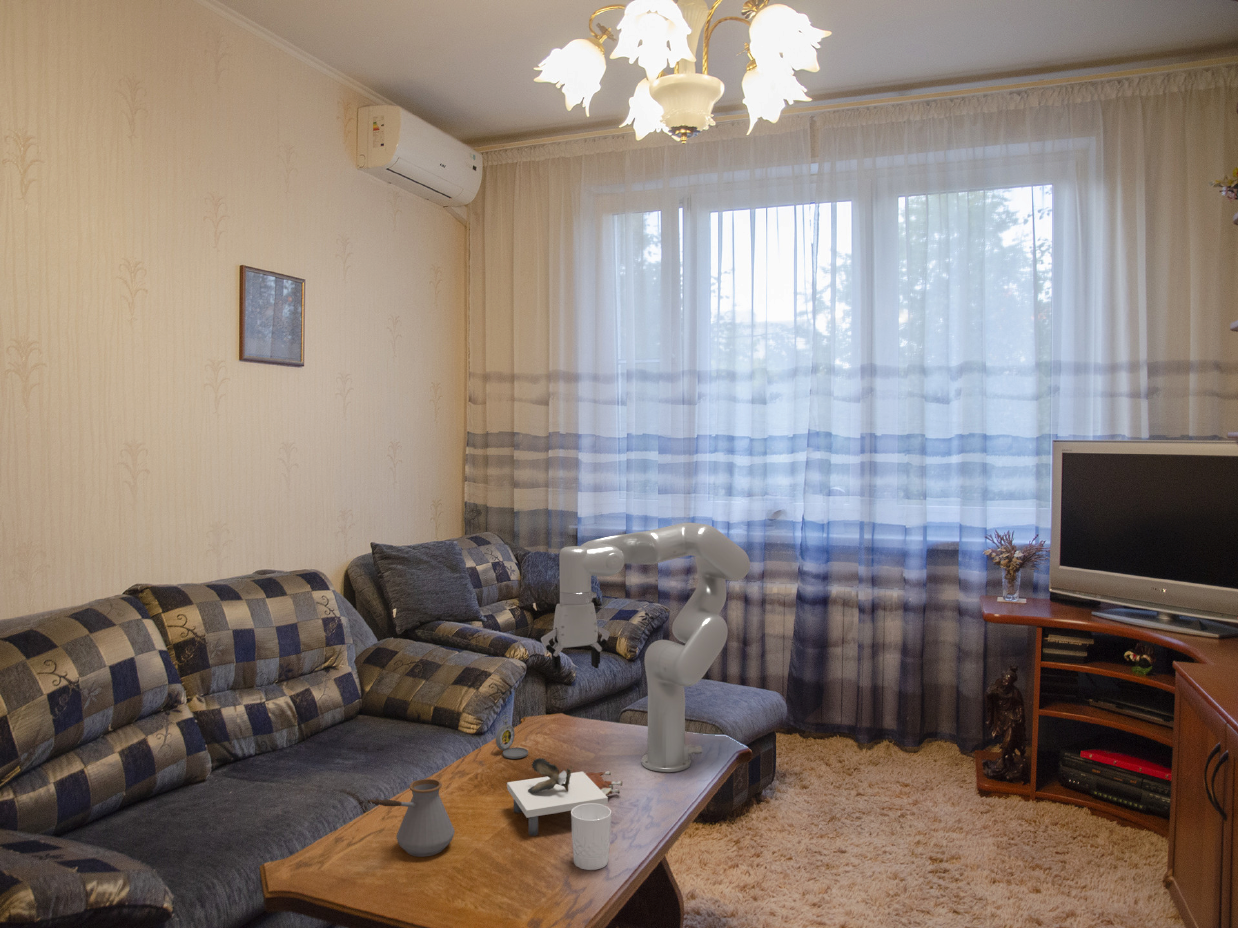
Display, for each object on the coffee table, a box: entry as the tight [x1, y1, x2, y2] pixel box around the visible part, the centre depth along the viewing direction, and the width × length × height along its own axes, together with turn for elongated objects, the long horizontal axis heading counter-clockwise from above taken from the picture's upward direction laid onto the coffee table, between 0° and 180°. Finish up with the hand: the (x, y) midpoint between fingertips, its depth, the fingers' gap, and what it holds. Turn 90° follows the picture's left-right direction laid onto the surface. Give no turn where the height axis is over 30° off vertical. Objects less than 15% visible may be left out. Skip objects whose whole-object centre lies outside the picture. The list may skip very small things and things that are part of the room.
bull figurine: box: [585, 770, 623, 797], centre depth 200 cm, size 4×13×8 cm
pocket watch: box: [495, 714, 529, 760], centre depth 226 cm, size 8×8×10 cm
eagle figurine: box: [528, 757, 573, 794], centre depth 187 cm, size 8×7×9 cm
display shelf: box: [506, 771, 609, 837], centre depth 188 cm, size 18×16×6 cm
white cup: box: [570, 803, 612, 871], centre depth 167 cm, size 8×8×10 cm
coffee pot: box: [362, 778, 455, 857], centre depth 169 cm, size 21×12×15 cm, turn 148°
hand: (576, 669), depth 206 cm, fingers open, 9 cm apart
